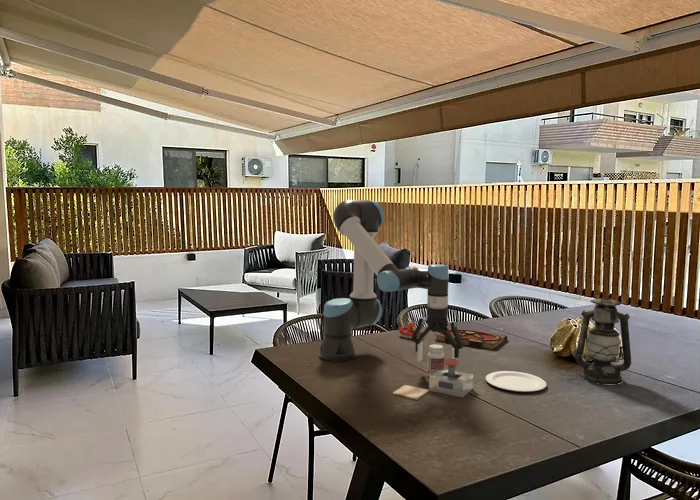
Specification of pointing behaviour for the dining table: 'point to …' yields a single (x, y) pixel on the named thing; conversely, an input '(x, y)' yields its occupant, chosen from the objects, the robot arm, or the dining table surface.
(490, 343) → the book
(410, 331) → the toy boat
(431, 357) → the pill bottle
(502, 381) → the plate
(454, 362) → the lever
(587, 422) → the dining table surface
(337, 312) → the robot arm
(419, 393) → the cork pad
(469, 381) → the grey boxy piece
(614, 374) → the lantern
